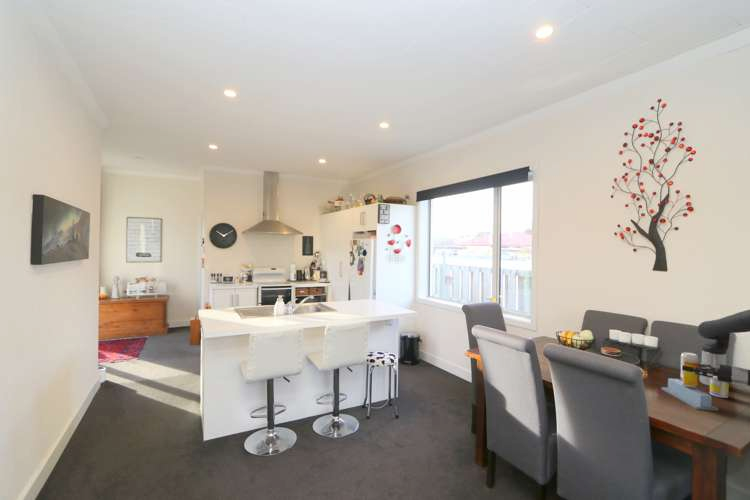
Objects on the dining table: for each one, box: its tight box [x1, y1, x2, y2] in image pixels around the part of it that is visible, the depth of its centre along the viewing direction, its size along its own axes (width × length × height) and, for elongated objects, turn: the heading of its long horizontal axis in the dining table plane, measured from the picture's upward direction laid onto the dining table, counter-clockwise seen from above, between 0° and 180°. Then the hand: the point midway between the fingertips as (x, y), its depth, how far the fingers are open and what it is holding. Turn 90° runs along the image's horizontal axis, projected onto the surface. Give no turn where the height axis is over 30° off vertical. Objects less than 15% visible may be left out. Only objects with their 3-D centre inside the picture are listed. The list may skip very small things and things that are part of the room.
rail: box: [661, 378, 719, 412], centre depth 169 cm, size 22×9×6 cm, turn 175°
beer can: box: [680, 351, 699, 388], centre depth 169 cm, size 6×6×15 cm
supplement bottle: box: [709, 376, 730, 399], centre depth 174 cm, size 7×7×13 cm
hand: (682, 366), depth 170 cm, fingers closed on beer can, 5 cm apart
